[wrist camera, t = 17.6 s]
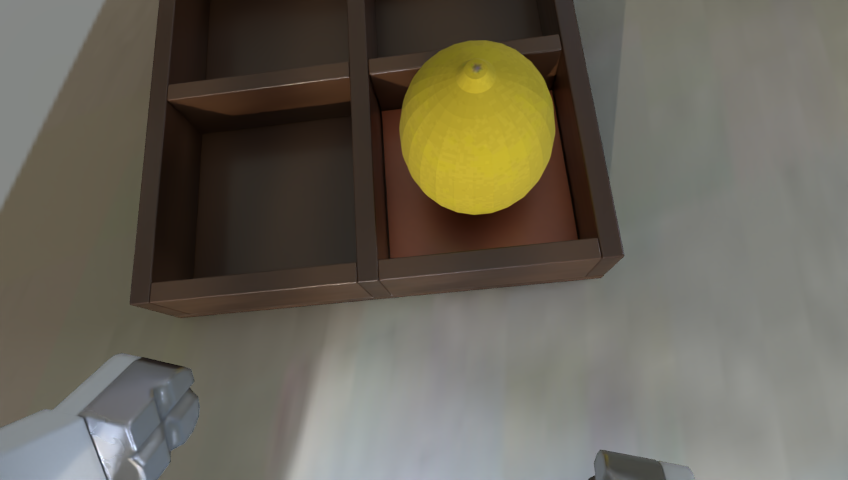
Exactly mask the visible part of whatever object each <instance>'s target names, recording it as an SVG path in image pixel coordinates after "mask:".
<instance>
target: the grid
mask: <svg viewBox="0 0 848 480" xmlns="http://www.w3.org/2000/svg"><path fill="white" fill-rule="evenodd" d="M477 40H487V41H492V42H497V43H502V44H504V45H506V46H508V47H511V48H513V49H515V50H517V51H518V52H519V53H521V54H522V55H523V56H524V57H526V58H527V59H528V60H530V61H531V62H532V63H533V65H534V66H535V67H536V68H537V70H538V71H539V72H540V74H541V75H542V77H543V78H544V80H545V83H546V85H547V88H548V90H549V93H550V95H551V98H552V102H553V108H554V119H555V137H554V142H553V147H552V152H551V157H550V160H549V162H548V164H547V166H546V168H545V170H544V172H543V174H542V176H541V178H540V179H539V181H538V182H537V183H536V184H535V186H534V187H533V188H532V189H531V190H530V191H529V192H528V193H527V194H526V195H525V196H524V197H523V198H522V199H520V200H518V201H517V202H515V203H514V204H512V205H511V206H509V207H508V208H505V209H502V210H499V211H496V212H493V213H489V214H478V215H472V214H465V213H458V212H455V211H452V210H450V209H447V208H445V207H442V206H441V205H439V204H438V203H436V202H435V201H434V200H432V199H431V198H430V197H428V196H427V195H426V194H425V193H424V192H423V191H422V189H421V188H420V187H419V186H418V184H417V183H416V182H415V181H414V179H413V178H412V176H411V174H410V172H409V169H408V167H407V165H406V162H405V160H404V157H403V154H402V148H401V140H400V131H399V126H400V118H401V112H402V105H403V100H404V97H405V95H406V92H407V90H408V88H409V85H410V83H411V81H412V79H413V77H414V76H415V74H416V73H417V72H418V71H419V69H420V68H421V67H422V66H423V64H424V63H425V62H426V61H428V60H429V59H430V58H431V57H433V56H434V55H435V54H437V53H438V52H439V51H441V50H443V49H445V48H447V47H449V46H452V45H454V44H457V43H462V42H466V41H477ZM623 257H624V251H623V246H622V241H621V236H620V231H619V226H618V221H617V216H616V211H615V206H614V202H613V197H612V192H611V187H610V182H609V177H608V172H607V167H606V162H605V157H604V152H603V147H602V142H601V137H600V132H599V127H598V122H597V117H596V113H595V108H594V103H593V98H592V93H591V88H590V83H589V78H588V73H587V68H586V63H585V58H584V53H583V48H582V43H581V38H580V33H579V29H578V24H577V19H576V14H575V9H574V4H573V0H159V10H158V20H157V31H156V41H155V51H154V61H153V71H152V82H151V92H150V102H149V112H148V122H147V133H146V143H145V153H144V163H143V173H142V183H141V194H140V204H139V214H138V224H137V234H136V245H135V255H134V265H133V275H132V285H131V296H130V305H133V306H137V307H141V308H145V309H148V310H152V311H156V312H160V313H164V314H168V315H172V316H176V317H180V318H185V317H196V316H206V315H216V314H227V313H237V312H248V311H258V310H269V309H279V308H290V307H300V306H311V305H321V304H332V303H342V302H353V301H363V300H374V299H384V298H395V297H405V296H416V295H426V294H437V293H447V292H458V291H468V290H479V289H489V288H500V287H510V286H521V285H531V284H542V283H552V282H563V281H573V280H584V279H594V278H602V277H603V276H604V274H606V273H607V272H608V271H609V270H610V269H611V268H612V267H613V266H614V265H615V264H616V263H617V262H618V261H619V260H621V259H622V258H623Z"/></svg>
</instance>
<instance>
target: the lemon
mask: <svg viewBox="0 0 848 480" xmlns="http://www.w3.org/2000/svg"><path fill="white" fill-rule="evenodd" d="M399 131H400V140H401V148H402V154H403V157H404V160H405V162H406V165H407V167H408V169H409V172H410V174H411V176H412V178H413V179H414V181H415V182H416V183H417V184H418V186H419V187H420V188H421V189H422V191H423V192H424V193H425V194H426V195H427V196H428V197H430V198H431V199H432V200H434V201H435V202H436V203H438V204H439V205H441V206H442V207H445V208H447V209H450V210H452V211H455V212H458V213H465V214H472V215H478V214H489V213H493V212H496V211H499V210H502V209H505V208H508V207H509V206H511V205H512V204H514V203H515V202H517V201H518V200H520V199H522V198H523V197H524V196H525V195H526V194H527V193H528V192H529V191H530V190H531V189H532V188H533V187H534V186H535V184H536V183H537V182H538V181H539V179H540V178H541V176H542V174H543V172H544V170H545V168H546V166H547V164H548V162H549V160H550V157H551V152H552V147H553V142H554V137H555V119H554V108H553V102H552V98H551V95H550V93H549V90H548V88H547V85H546V83H545V80H544V78H543V77H542V75H541V74H540V72H539V71H538V70H537V68H536V67H535V66H534V65H533V63H532V62H531V61H530V60H528V59H527V58H526V57H524V56H523V55H522V54H521V53H519V52H518V51H517V50H515V49H513V48H511V47H508V46H506V45H504V44H502V43H497V42H492V41H487V40H477V41H466V42H462V43H457V44H454V45H452V46H449V47H447V48H445V49H443V50H441V51H439V52H438V53H437V54H435V55H434V56H433V57H431V58H430V59H429V60H428V61H426V62H425V63H424V64H423V66H422V67H421V68H420V69H419V71H418V72H417V73H416V74H415V76H414V77H413V79H412V81H411V83H410V85H409V88H408V90H407V92H406V95H405V97H404V100H403V105H402V112H401V118H400V126H399Z"/></svg>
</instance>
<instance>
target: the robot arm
mask: <svg viewBox="0 0 848 480" xmlns="http://www.w3.org/2000/svg"><path fill="white" fill-rule="evenodd" d="M193 383H194V377H193V373H192V370H191V369H189V368H186V367H183V366H178V365H174V364H170V363H165V362H161V361H157V360H152V359H148V358H144V357H138V356H134V355H129V354H125V353H120V354H117V355H114V356H112V357H111V358H110V359H109V360H108V361H106V362H105V363H104V364H103V365H102V366H101V367H100V368H99V369H98V370H96V371H95V372H94V373H93V374H92V375H91V376H90V377H89V378H87V379H86V380H85V381H84V382H83V383H82V384H81V385H80V386H79V387H77V388H76V389H75V390H74V391H73V392H72V393H71V394H70V395H69V396H67V397H66V398H65V399H64V400H63V401H62V402H61V403H60V404H59V405H57V406H56V407H55V408H54V409H53V410H49V409H44V410H41V411H39V412H37V413H34V414H32V415H30V416H27V417H25V418H22V419H20V420H18V421H15V422H13V423H10V424H8V425H6V426H3V427H1V428H0V480H157V479H158V478H159V477H160V475H161V474H162V473H163V471H164V470H165V469H166V467H167V466H168V465H169V463H170V462H171V450H173V449H175V448H177V447H178V446H180V445H182V444H184V443H185V442H186V441H187V439H188V438H189V436H190V435H191V434H192V432H193V430H194V428H195V425H196V423H197V420H198V418H199V410H200V404H199V399H198V396H197V395H196V394H195V393H194V392H193V391H192V390H191V389H190V386H191V385H192V384H193ZM594 469H595V476H593V477H591V478H589V479H588V480H695V478H694V475H693V472H692V471H691V470H690V468H689V467H687V466H682V465H677V464H672V463H667V462H662V461H656V460H653V459H648V458H643V457H637V456H632V455H627V454H622V453H616V452H611V451H606V450H600V451H599V452H598V453H597V455H596V458H595V461H594Z"/></svg>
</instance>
